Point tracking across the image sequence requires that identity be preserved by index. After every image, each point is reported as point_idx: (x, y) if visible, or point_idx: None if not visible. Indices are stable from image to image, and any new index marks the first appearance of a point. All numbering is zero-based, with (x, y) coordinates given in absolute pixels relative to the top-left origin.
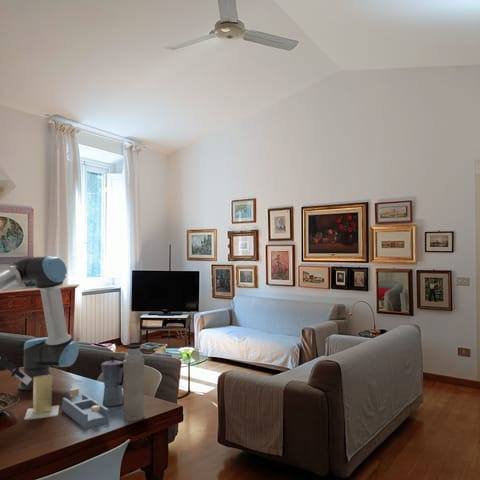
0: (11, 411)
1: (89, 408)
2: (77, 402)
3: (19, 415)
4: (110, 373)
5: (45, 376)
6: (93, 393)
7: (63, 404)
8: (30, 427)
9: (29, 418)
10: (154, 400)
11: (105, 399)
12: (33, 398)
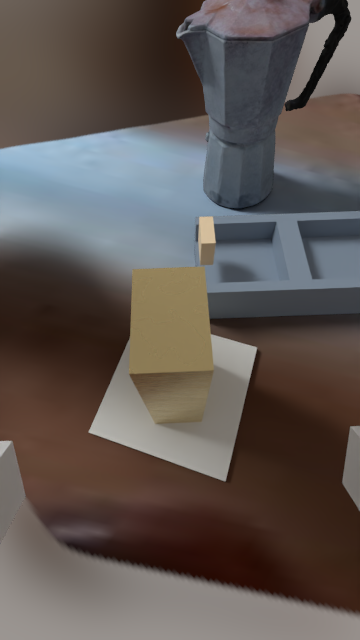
0: (50, 507)
1: (313, 247)
2: (301, 263)
3: (141, 485)
4: (293, 71)
5: (175, 299)
6: (81, 195)
7: (212, 305)
8: (341, 478)
9: (230, 457)
10: None
11: (252, 187)
12: (154, 410)
